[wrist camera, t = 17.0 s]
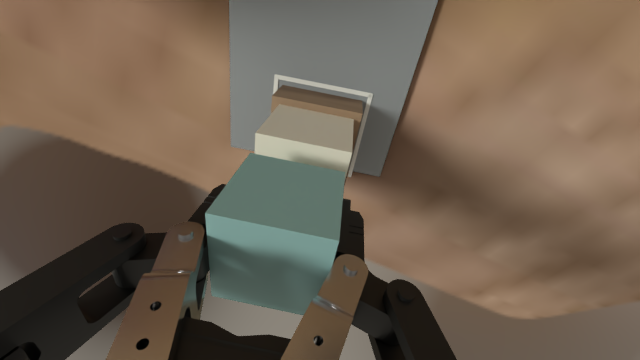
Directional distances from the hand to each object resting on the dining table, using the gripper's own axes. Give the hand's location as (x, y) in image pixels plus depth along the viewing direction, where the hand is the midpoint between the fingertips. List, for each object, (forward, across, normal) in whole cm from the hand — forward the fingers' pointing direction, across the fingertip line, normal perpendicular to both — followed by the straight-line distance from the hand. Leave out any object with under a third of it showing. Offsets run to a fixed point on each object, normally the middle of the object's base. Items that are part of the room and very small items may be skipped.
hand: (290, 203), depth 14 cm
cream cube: (+7, 0, 0) cm, 7 cm away
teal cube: (0, 0, 0) cm, 0 cm away
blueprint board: (+10, 0, -6) cm, 12 cm away
